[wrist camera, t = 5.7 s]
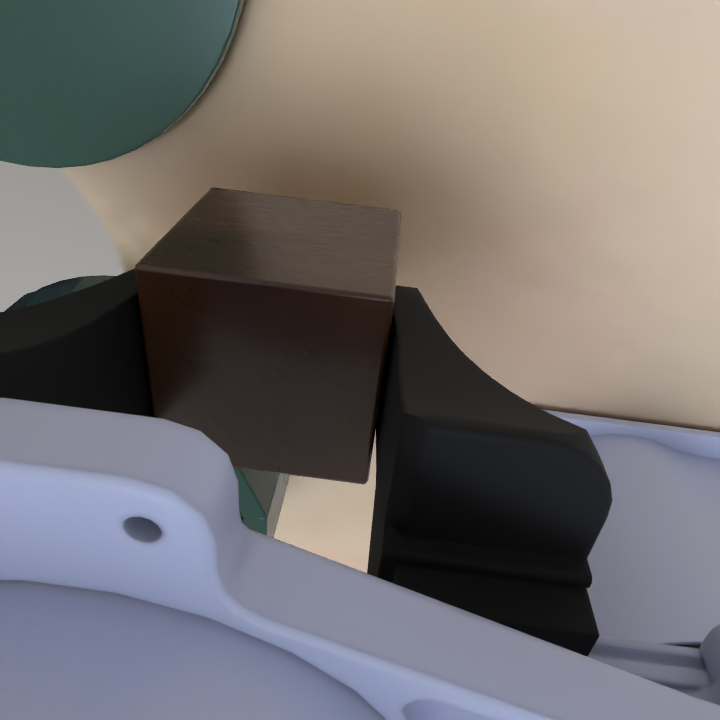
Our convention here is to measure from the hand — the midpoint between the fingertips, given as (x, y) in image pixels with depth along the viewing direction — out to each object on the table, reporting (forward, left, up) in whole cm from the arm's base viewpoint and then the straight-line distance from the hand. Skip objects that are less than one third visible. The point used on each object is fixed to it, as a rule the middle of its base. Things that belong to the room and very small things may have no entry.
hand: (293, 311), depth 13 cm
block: (0, 0, -1) cm, 1 cm away
